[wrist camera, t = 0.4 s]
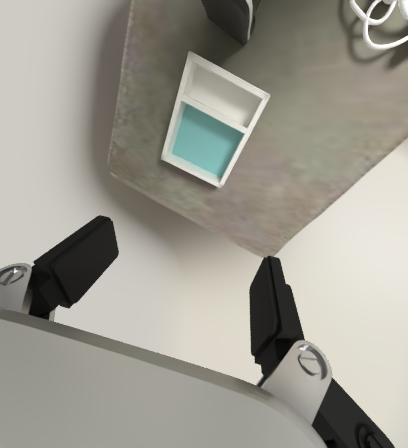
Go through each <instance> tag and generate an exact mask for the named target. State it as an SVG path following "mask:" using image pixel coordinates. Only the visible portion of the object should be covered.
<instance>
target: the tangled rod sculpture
mask: <svg viewBox="0 0 408 448" xmlns="http://www.w3.org/2000/svg"><path fill="white" fill-rule="evenodd" d="M380 1H382V0H375V1H374V2H373V3H372V4H371V6H370V7H369V9H368V11H367V13H366V15H365V13H364V12H363V11H362V10H361V9H360V8H359V7H358V5H357V4H356V3H355V1H354V0H349V2H350V6H351V8H352V10H353V11H354V12H355V14H356V15H357V16H358V17H359V18H360V19H361V20H362V21H363V22H364V23H363V39H364V42H365V44H366V45H367V46H368V47H369V48H371V49H374V50H384V49H389V48H392V47H395V46H398V45H400V44H402V43H403V42H405V41H407V40H408V36H406V37H404V38H403V39H401V40H399V41H396V42H394V43H391V44H385V45H377V44H374V43H372V42H371V41H370V39H369V36H368V24H369V25H379V24H381V23H383V22H384V21H385V20H386V19H387V18H388V16H389V15H390V14H391V12H392V10H393V8H394V6H395V4H396V3H397V2H398V6H399V10H400V13H401V15H402V16H403V17H404V18H405V19H407V20H408V0H383V2H384V3H385V4H391V5H390V7H389V9H388V11H387V13H386V14H385V16H384V17H383V18H382V19H379V20H374V19H371V18H369V16H370V13H371V11H372V9H373V8H374V7H375V5H376V4H377V3H379V2H380Z"/></svg>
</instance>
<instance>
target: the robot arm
mask: <svg viewBox="0 0 408 448" xmlns="http://www.w3.org/2000/svg"><path fill="white" fill-rule="evenodd" d="M118 253H119V251H118V246H117V241H116V236H115V231H114V226H113V221H111V219H110V218H109V217H105V216H97V217H96V218H94V219H93V220H92V221H90V222H89V223H87V224H86V225H84V226H83V227H82V228H80V229H79V230H77V231H76V232H75V233H73V234H72V235H70V236H69V237H67V238H66V239H65V240H63V241H62V242H60V243H59V244H58V245H56V246H55V247H53V248H52V249H50V250H49V251H48V252H46V253H45V254H43V255H42V256H41V257H39V258H38V259H37V260H35V261H34V264H35V265H34V266H32V267H31V266H30V265H29V264H26V263H18V264H12V265H9V266H6V267H4V268H2V269H0V448H395V447H394V445H393V444H392V443H391V441H390V440H389V439H388V438H387V437H386V435H385V434H384V433H383V432H382V431H381V430H380V429H379V427H377V425H376V424H375V423H374V422H373V421H372V420H371V419H370V418H369V417H368V416H367V414H365V412H364V411H363V410H362V409H361V408H360V407H359V406H358V405H357V404H356V403H355V402H354V400H353V399H352V398H351V397H350V396H349V395H348V394H347V393H346V392H345V391H344V390H343V389H342V387H341V386H340V385H339V384H338V383H337V382H336V381H335V380H334V379H333V378H332V370H331V366H330V364H329V361H328V360H327V358H326V356H325V355H324V353H323V352H322V351H321V350H320V349H319V348H318V347H316V346H315V345H314V344H312V343H310V342H308V341H305V339H304V335H303V331H302V327H301V324H300V320H299V316H298V312H297V308H296V305H295V301H294V297H293V293H292V289H291V287H290V285H288V284H286V283H285V279H284V275H283V271H282V267H281V262H280V259H279V258H276V257H272V256H268V257H267V258H265V257H264V259H263V261H262V263H261V265H260V267H259V269H258V271H257V274H256V275H255V278H254V280H253V282H252V284H251V286H250V292H249V293H250V331H251V354H252V355H253V356H255V363H257V364H260V365H261V368H262V374H263V376H262V377H261V379H260V380H259V381H258V383H257V384H256V385H253V384H251V383H248V382H246V381H243V380H240V379H238V378H235V377H232V376H229V375H225V374H223V373H220V372H216V371H213V370H210V369H208V368H204V367H201V366H198V365H195V364H191V363H188V362H185V361H182V360H178V359H175V358H172V357H169V356H166V355H162V354H159V353H155V352H153V351H149V350H146V349H143V348H139V347H136V346H133V345H130V344H126V343H123V342H120V341H116V340H113V339H110V338H106V337H103V336H100V335H97V334H93V333H90V332H86V331H83V330H80V329H76V328H73V327H70V326H66V325H63V324H59V323H56V322H54V315H55V308H56V307H57V306H58V305H60V306H62V307H65V308H70V307H71V306H72V305H73V304H74V303H76V302H78V301H79V300H80V298H81V297H82V296H83V295H84V294H85V293H86V292H87V291H88V289H89V288H90V287H91V286H92V285H93V284H94V283H95V281H96V280H97V279H98V278H99V277H100V276H101V275H102V274H103V272H104V271H105V270H106V269H107V268H108V267H109V265H111V263H112V262H113V261H114V260H115V259H116V258H117V256H118Z"/></svg>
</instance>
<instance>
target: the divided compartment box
mask: <svg viewBox="0 0 408 448" xmlns="http://www.w3.org/2000/svg"><path fill="white" fill-rule="evenodd" d="M270 96H271V95H270V94H268V93H266V92H264V91H262V90H261V89H259V88H257V87H255V86H253V85H251V84H250V83H248V82H246V81H244V80H242V79H241V78H239V77H237V76H235V75H233V74H231V73H230V72H228V71H226V70H224V69H222V68H220V67H219V66H217V65H215V64H213V63H211V62H209V61H208V60H206V59H204V58H202V57H200V56H198V55H197V54H195V53H193V52H191V51H189V52H188V56H187V60H186V64H185V68H184V72H183V75H182V79H181V83H180V87H179V91H178V95H177V98H176V102H175V106H174V110H173V114H172V118H171V121H170V125H169V129H168V133H167V137H166V141H165V144H164V148H163V152H162V156H161V159H162V160H164V161H166V162H168V163H170V164H172V165H174V166H176V167H178V168H180V169H182V170H184V171H186V172H188V173H190V174H193V175H195V176H197V177H199V178H201V179H203V180H205V181H207V182H209V183H211V184H213V185H215V186H217V187H219V188H221V189H222V187H223V185H224V183H225V181H226V179H227V177H228V175H229V173H230V172H231V170H232V168H233V166H234V164H235V162H236V160H237V158H238V156H239V155H240V153H241V151H242V149H243V147H244V145H245V143H246V141H247V139H248V137H249V136H250V134H251V132H252V130H253V128H254V126H255V124H256V122H257V120H258V119H259V117H260V115H261V113H262V111H263V109H264V107H265V105H266V103H267V102H268V100H269V98H270Z"/></svg>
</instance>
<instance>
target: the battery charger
mask: <svg viewBox="0 0 408 448" xmlns="http://www.w3.org/2000/svg"><path fill="white" fill-rule="evenodd" d="M201 1H202V3H203V5H204V7H205V10H206V13H207V15H208V18H209V19H211V20H212V21H213V22H214V23H216V24H217V25H218V26H219V27H221V28H222V29H223V30H224V31H226V32H227V33H228V34H229V35H231V36H232V37H233V38H235V39H236V40H237V41H238V42H240V43H241V44H242V45H245V44H246V43H247V41H248V40H249V38H250V35H251V33H252V30H253V27H254V23H255V15H254V14H255V11H256V9H257V7H258V4H259V2H260V0H201Z"/></svg>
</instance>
